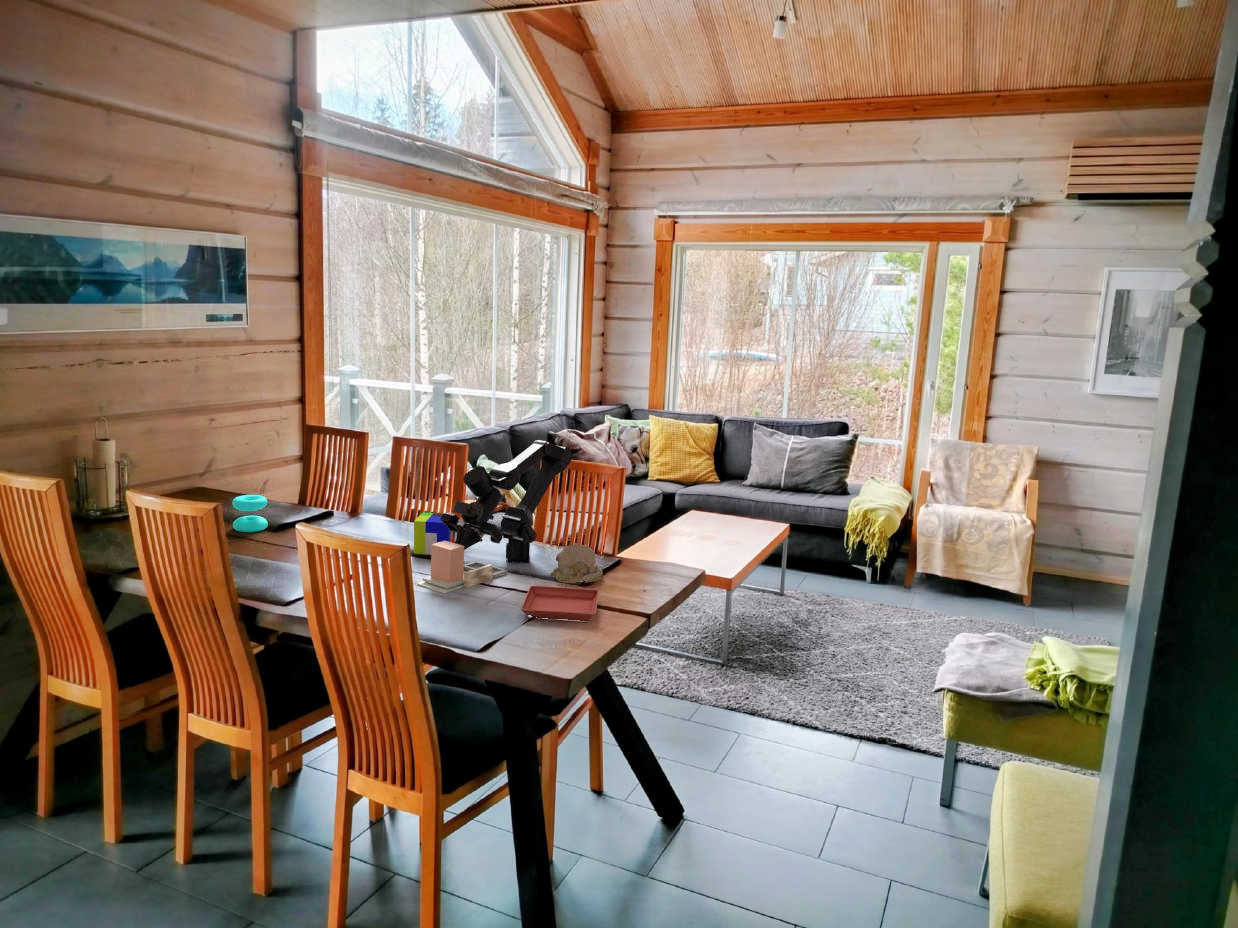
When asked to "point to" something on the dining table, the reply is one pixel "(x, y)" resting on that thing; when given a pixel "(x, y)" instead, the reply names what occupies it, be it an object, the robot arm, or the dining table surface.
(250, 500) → the donuts
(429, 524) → the puzzle toy
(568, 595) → the plant saucer
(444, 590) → the pad
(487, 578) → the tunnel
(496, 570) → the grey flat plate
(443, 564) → the block sled
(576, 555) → the ceramic model
